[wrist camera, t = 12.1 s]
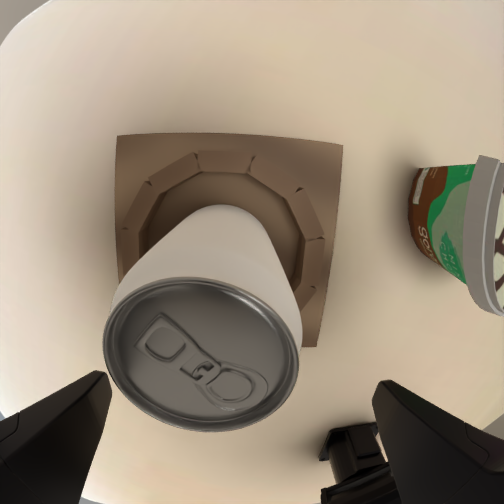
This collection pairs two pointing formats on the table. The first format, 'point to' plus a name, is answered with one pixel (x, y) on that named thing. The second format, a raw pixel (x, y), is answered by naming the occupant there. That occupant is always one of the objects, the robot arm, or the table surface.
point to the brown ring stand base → (235, 199)
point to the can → (206, 325)
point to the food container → (463, 225)
